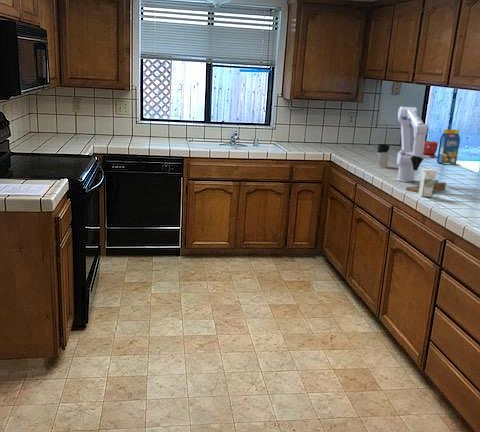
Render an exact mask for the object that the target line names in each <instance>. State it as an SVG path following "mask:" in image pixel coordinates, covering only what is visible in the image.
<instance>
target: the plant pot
mask: <svg viewBox="0 0 480 432" xmlns="http://www.w3.org/2000/svg"><path fill="white" fill-rule="evenodd" d="M438 148H439V142H438V141H430V140H429V141H428V140H427V141H426V140H425V143H424V150H423V154H424V155H428V156H430V157H433V158H435V157H436V156H437V155H436V153H437V151H438Z"/></svg>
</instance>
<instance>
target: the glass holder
mask: <svg viewBox="0 0 480 432" xmlns="http://www.w3.org/2000/svg"><path fill="white" fill-rule="evenodd" d="M377 145H378V146H377V151H376V147H375V146H373V145H370V146H369V147H368V149H367V150H368V151H367V153H368V156H369V158H370V159H371V160H373V162H374V167H375V168H379V169H388V162H389V155H390V145H389V144H385V143H384V144H383V143H381V144H377ZM371 147H372V148H374V151H373V152H374V153H376V157H375V158H376V159H375V160H374V158H372V157H371V155H370V148H371Z"/></svg>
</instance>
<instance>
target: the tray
mask: <svg viewBox="0 0 480 432" xmlns="http://www.w3.org/2000/svg"><path fill="white" fill-rule="evenodd" d="M436 183H440V182H439V179H435V183H434V184H436ZM419 184H420V179H419V180H417V185H416V186H417V188H419Z"/></svg>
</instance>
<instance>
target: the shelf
mask: <svg viewBox="0 0 480 432" xmlns="http://www.w3.org/2000/svg"><path fill="white" fill-rule="evenodd" d="M446 186H447V182H444V181H443V182H442V181H441V182H438V183H436V184H434V189H433V193H434V192H440V191H445V190H446ZM405 190H406V191H410V192H414V193H417V194H418V190H419V188H417V185H412V186H406V188H405Z"/></svg>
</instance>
